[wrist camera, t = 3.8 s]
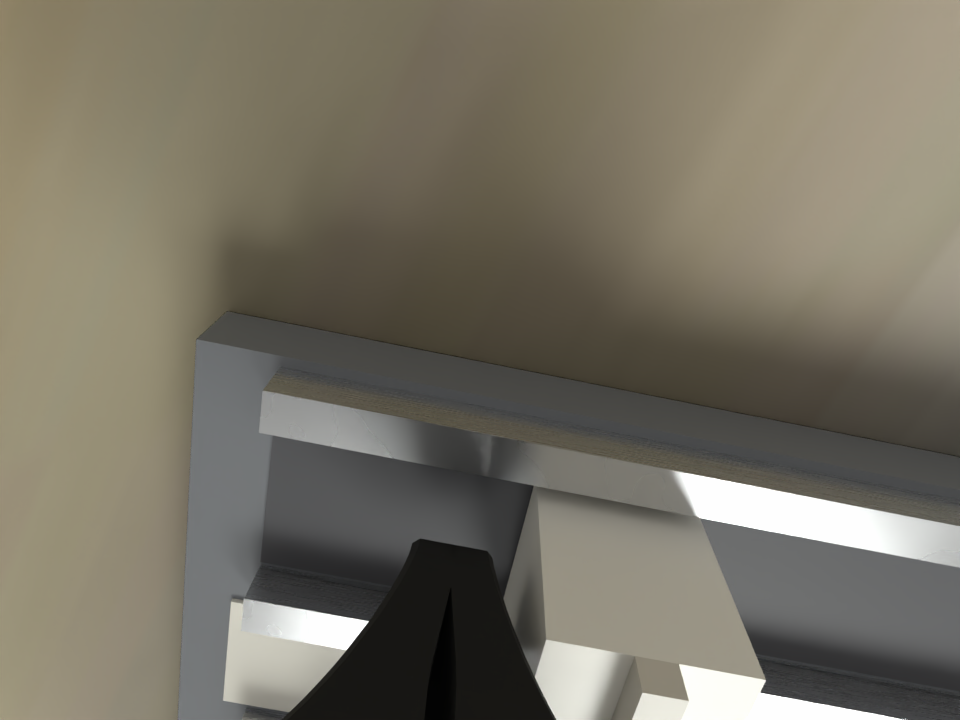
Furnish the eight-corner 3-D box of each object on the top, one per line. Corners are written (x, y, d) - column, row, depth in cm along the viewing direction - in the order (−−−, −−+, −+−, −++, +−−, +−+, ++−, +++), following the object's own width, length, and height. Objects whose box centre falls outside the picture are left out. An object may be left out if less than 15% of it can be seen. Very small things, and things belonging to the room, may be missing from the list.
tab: (648, 630, 14) (706, 868, 10) (502, 603, 14) (498, 832, 10) (695, 507, 13) (781, 717, 9) (536, 476, 13) (548, 675, 9)
